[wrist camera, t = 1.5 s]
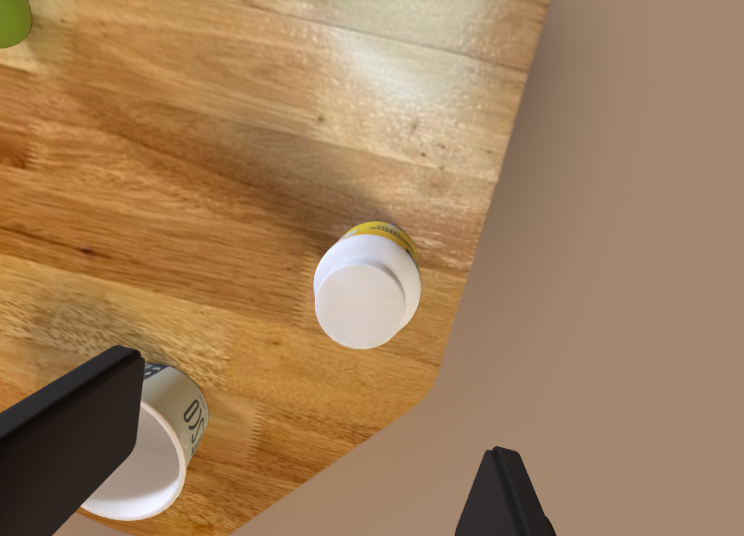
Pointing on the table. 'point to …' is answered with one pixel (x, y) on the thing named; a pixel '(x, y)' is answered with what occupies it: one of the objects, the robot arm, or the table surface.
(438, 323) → the table surface
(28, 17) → the snail figurine
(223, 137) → the table surface
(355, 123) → the table surface
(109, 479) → the food container
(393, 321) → the pill bottle
